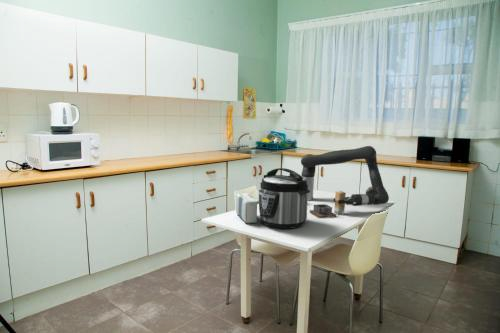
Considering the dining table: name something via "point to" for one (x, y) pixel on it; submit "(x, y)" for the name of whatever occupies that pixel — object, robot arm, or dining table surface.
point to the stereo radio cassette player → (247, 207)
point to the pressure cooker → (283, 199)
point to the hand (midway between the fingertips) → (336, 201)
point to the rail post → (339, 207)
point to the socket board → (322, 211)
